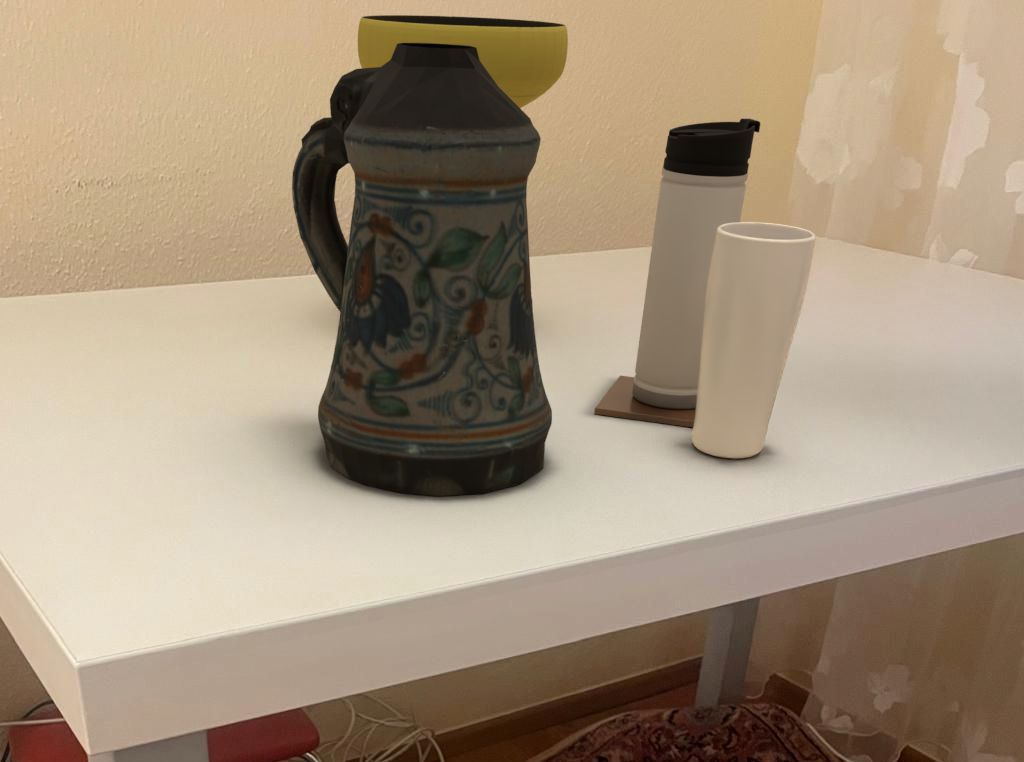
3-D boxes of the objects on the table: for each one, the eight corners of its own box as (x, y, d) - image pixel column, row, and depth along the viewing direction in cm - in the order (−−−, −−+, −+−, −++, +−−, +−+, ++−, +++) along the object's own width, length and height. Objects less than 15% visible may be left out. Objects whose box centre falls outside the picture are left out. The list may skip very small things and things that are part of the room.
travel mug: (724, 409, 96) (775, 125, 84) (645, 411, 95) (686, 123, 83) (697, 386, 101) (741, 115, 89) (622, 387, 100) (657, 113, 88)
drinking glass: (716, 428, 93) (753, 218, 85) (790, 452, 89) (837, 234, 81) (662, 445, 90) (695, 227, 81) (737, 471, 86) (780, 244, 77)
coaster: (736, 396, 101) (737, 390, 100) (720, 431, 93) (721, 424, 93) (619, 381, 103) (620, 375, 103) (594, 414, 95) (594, 407, 95)
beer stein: (535, 509, 78) (576, 62, 64) (250, 481, 81) (227, 45, 66) (557, 430, 92) (594, 46, 77) (311, 408, 94) (303, 31, 80)
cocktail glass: (401, 358, 107) (408, 25, 92) (330, 310, 120) (327, 13, 105) (577, 342, 113) (609, 28, 98) (491, 299, 126) (508, 17, 112)
